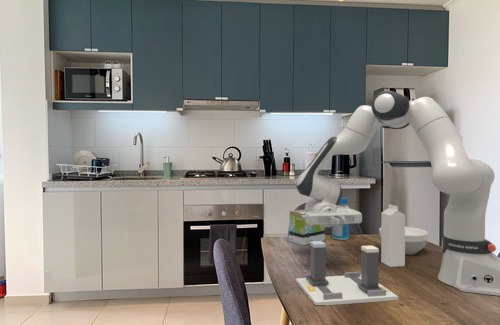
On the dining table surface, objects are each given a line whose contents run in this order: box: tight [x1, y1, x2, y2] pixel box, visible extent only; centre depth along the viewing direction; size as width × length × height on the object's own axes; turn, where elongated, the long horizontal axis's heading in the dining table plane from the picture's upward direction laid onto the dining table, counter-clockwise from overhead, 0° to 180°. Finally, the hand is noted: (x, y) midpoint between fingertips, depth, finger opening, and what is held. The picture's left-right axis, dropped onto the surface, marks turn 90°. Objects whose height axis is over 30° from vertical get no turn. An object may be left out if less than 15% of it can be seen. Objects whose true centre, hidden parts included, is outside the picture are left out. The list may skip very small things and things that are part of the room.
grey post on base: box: [358, 245, 382, 293], centre depth 97 cm, size 5×5×12 cm
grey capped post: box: [307, 241, 329, 286], centre depth 103 cm, size 5×5×12 cm
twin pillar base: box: [295, 271, 399, 306], centre depth 100 cm, size 24×18×2 cm
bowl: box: [378, 226, 429, 256], centre depth 142 cm, size 19×19×9 cm
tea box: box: [288, 208, 326, 246], centre depth 159 cm, size 15×10×15 cm
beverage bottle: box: [331, 196, 350, 241], centre depth 165 cm, size 8×8×20 cm
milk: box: [380, 204, 406, 268], centre depth 124 cm, size 6×6×22 cm
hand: (341, 221), depth 113 cm, fingers closed
